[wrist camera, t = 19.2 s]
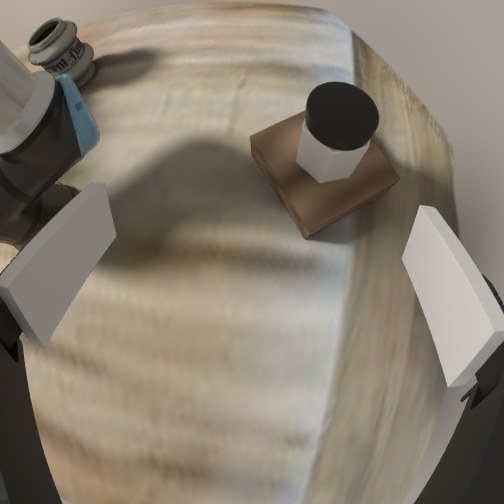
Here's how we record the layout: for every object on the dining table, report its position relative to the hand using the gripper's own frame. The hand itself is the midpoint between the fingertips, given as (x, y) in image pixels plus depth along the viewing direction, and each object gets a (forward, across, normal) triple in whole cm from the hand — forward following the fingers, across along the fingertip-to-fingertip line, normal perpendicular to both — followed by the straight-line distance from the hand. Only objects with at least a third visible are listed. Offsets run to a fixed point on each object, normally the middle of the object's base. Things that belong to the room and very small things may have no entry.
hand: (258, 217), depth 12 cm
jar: (+31, +8, -7) cm, 33 cm away
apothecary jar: (+52, -45, +5) cm, 69 cm away
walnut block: (+35, +8, -12) cm, 38 cm away
